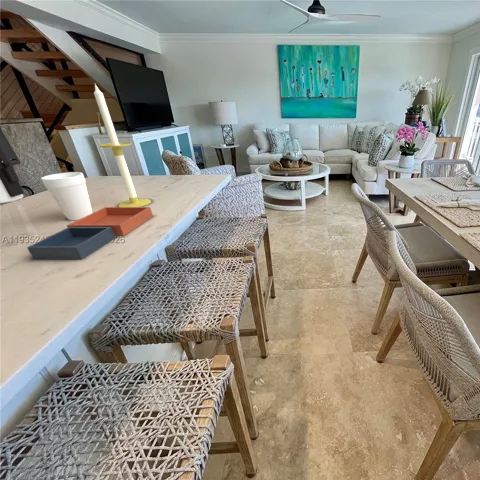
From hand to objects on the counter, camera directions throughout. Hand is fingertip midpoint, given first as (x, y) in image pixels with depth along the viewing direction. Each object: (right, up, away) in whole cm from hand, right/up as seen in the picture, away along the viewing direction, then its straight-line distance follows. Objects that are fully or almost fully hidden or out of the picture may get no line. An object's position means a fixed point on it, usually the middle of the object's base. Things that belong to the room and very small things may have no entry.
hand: (2, 194), depth 65 cm
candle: (+11, +2, +30) cm, 33 cm away
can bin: (+17, -13, +1) cm, 22 cm away
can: (0, -2, +1) cm, 2 cm away
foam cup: (+1, -4, +20) cm, 20 cm away
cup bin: (+17, -7, +13) cm, 23 cm away
